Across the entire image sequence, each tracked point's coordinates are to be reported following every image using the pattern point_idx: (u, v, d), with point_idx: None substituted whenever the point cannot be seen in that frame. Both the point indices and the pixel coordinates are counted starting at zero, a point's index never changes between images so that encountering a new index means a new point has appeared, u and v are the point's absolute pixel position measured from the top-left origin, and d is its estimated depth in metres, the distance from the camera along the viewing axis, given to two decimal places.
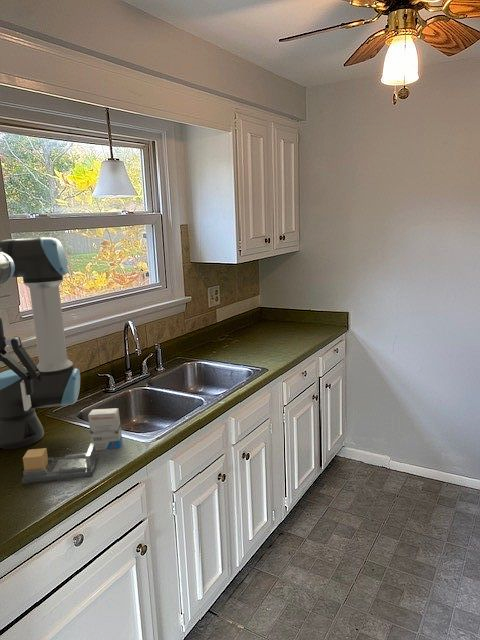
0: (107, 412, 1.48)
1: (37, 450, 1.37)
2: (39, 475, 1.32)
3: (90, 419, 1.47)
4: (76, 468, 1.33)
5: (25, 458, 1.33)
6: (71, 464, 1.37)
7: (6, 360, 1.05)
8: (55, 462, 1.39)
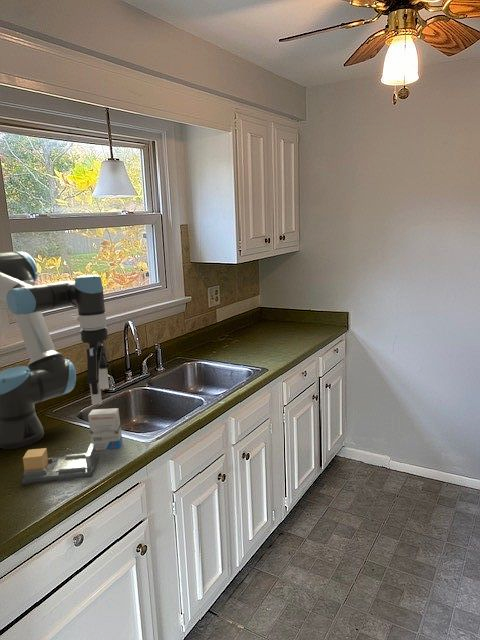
0: (107, 412, 1.48)
1: (37, 450, 1.37)
2: (39, 475, 1.32)
3: (90, 419, 1.47)
4: (76, 468, 1.33)
5: (25, 458, 1.33)
6: (71, 464, 1.37)
7: None
8: (55, 462, 1.39)
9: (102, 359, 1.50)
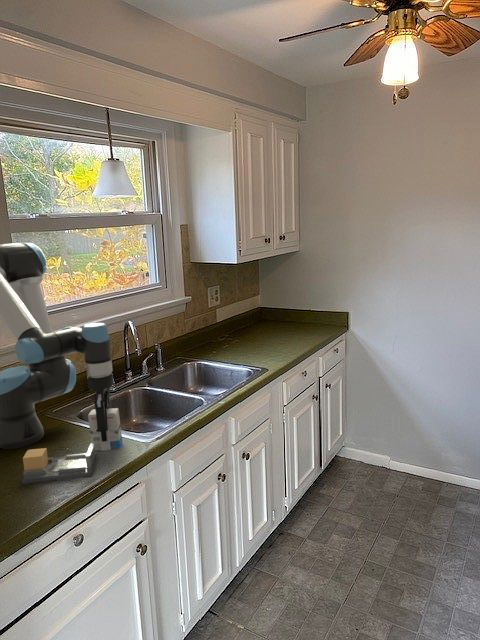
0: (107, 412, 1.48)
1: (37, 450, 1.37)
2: (39, 475, 1.32)
3: (90, 419, 1.47)
4: (76, 468, 1.33)
5: (25, 458, 1.33)
6: (71, 464, 1.37)
7: None
8: (55, 462, 1.39)
9: (107, 408, 1.51)
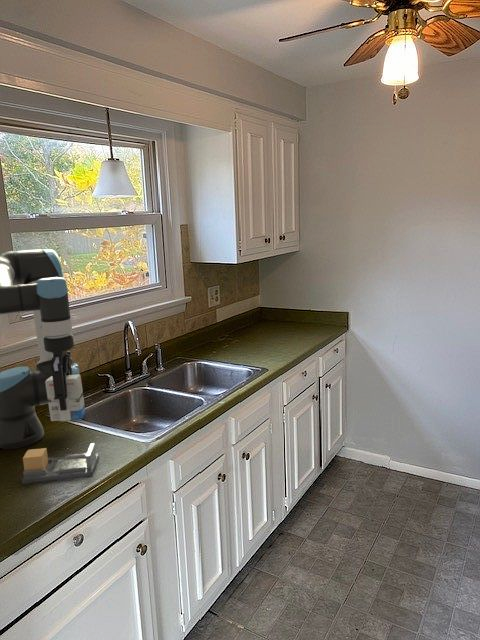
0: (67, 378, 1.32)
1: (37, 450, 1.37)
2: (39, 475, 1.32)
3: (47, 386, 1.31)
4: (76, 468, 1.33)
5: (25, 458, 1.33)
6: (71, 464, 1.37)
7: None
8: (55, 462, 1.39)
9: (67, 374, 1.35)
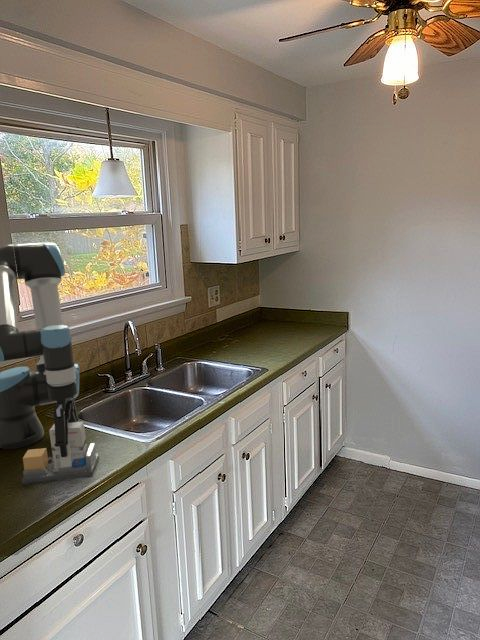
0: (71, 426, 1.34)
1: (37, 450, 1.37)
2: (39, 475, 1.32)
3: (51, 435, 1.33)
4: (76, 468, 1.33)
5: (25, 458, 1.33)
6: None
7: None
8: None
9: (72, 416, 1.38)
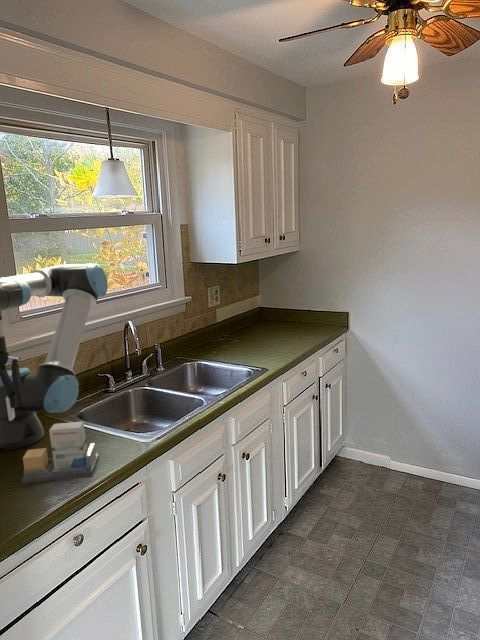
0: (71, 426, 1.34)
1: (37, 450, 1.37)
2: (39, 475, 1.32)
3: (51, 435, 1.33)
4: (76, 468, 1.33)
5: (25, 458, 1.33)
6: None
7: (2, 375, 1.29)
8: None
9: None
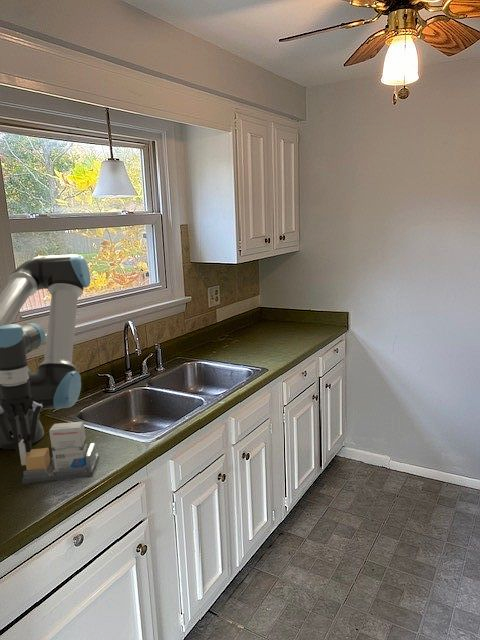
0: (71, 426, 1.34)
1: (39, 450, 1.37)
2: (39, 475, 1.32)
3: (51, 435, 1.33)
4: (76, 468, 1.33)
5: (27, 458, 1.33)
6: None
7: (24, 420, 1.32)
8: None
9: (18, 422, 1.34)
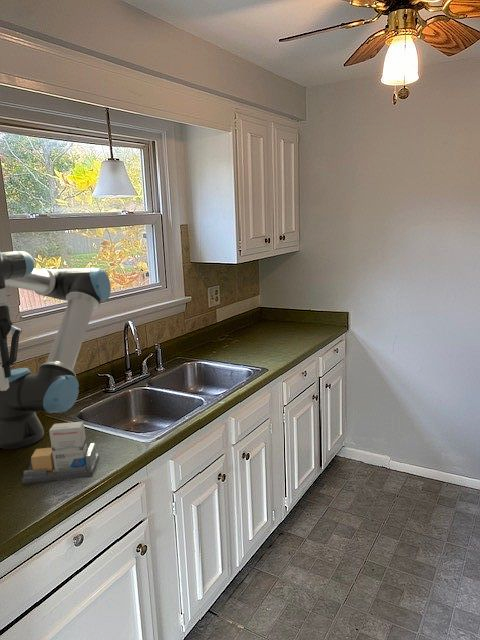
0: (71, 426, 1.34)
1: (45, 449, 1.37)
2: (39, 475, 1.32)
3: (51, 435, 1.33)
4: (76, 468, 1.33)
5: (33, 457, 1.33)
6: None
7: (2, 344, 1.30)
8: None
9: None
